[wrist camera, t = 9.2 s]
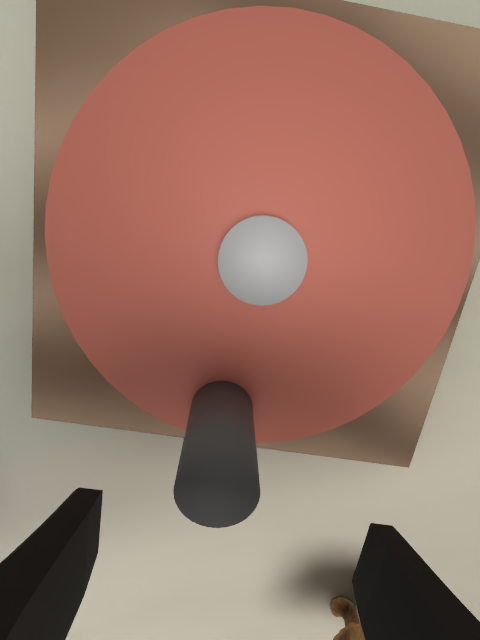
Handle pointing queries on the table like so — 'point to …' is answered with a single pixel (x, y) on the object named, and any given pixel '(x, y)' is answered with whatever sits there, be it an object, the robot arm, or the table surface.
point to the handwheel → (258, 235)
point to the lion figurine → (347, 620)
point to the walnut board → (69, 95)
